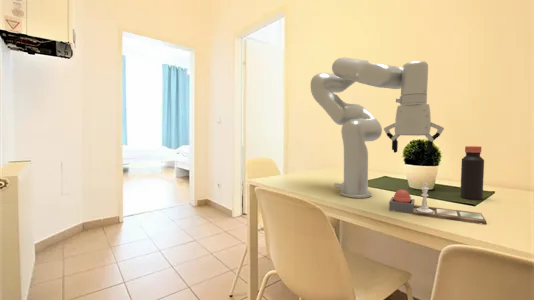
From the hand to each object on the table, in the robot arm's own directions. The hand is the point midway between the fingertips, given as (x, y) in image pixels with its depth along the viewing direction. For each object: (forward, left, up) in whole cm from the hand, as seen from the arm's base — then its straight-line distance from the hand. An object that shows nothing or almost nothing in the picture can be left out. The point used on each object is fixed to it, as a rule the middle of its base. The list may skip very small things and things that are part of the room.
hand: (411, 152), depth 87 cm
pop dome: (-2, -1, -17) cm, 17 cm away
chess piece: (+4, -1, -19) cm, 20 cm away
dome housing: (-2, -1, -19) cm, 19 cm away
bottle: (+19, +28, -19) cm, 39 cm away
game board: (+10, -1, -19) cm, 22 cm away
